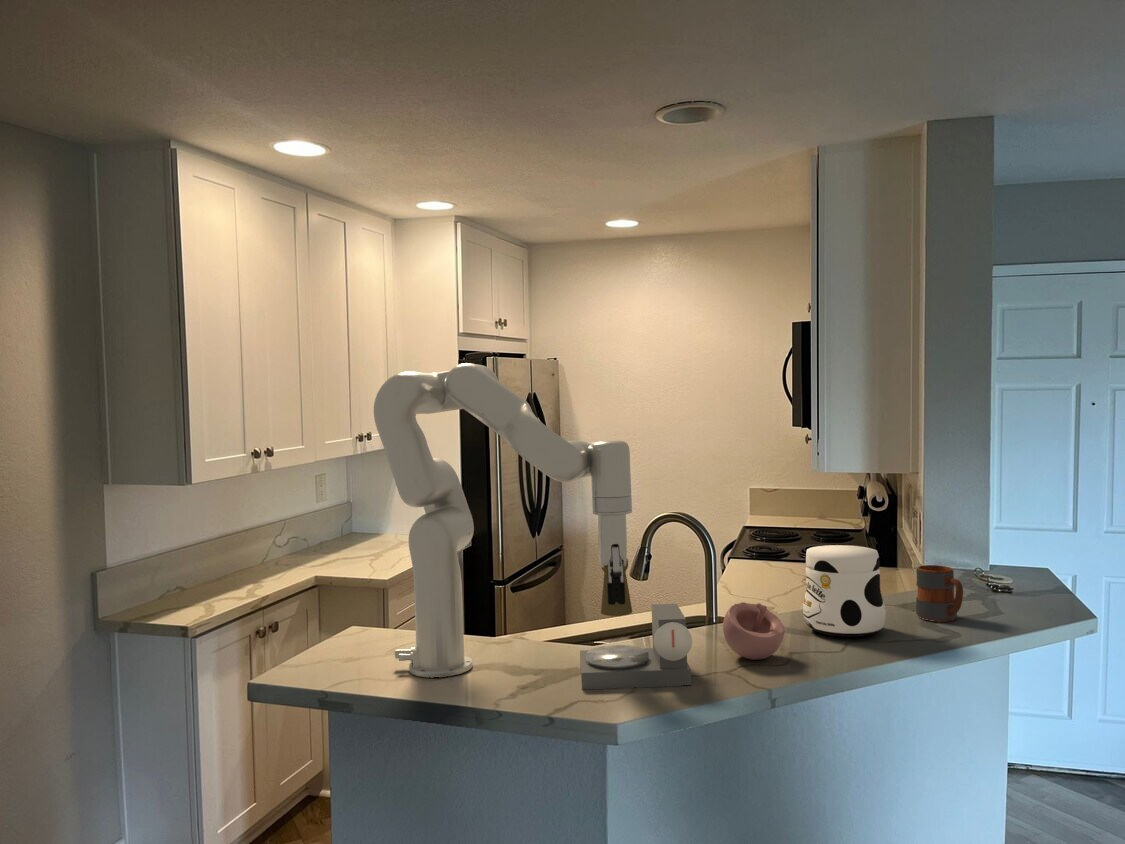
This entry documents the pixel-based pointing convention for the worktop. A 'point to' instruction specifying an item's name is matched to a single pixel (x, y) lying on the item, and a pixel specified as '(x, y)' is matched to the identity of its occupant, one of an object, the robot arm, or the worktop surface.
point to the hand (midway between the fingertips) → (615, 600)
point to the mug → (938, 593)
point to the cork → (617, 608)
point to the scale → (650, 657)
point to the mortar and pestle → (752, 630)
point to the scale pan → (617, 657)
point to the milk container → (843, 591)
